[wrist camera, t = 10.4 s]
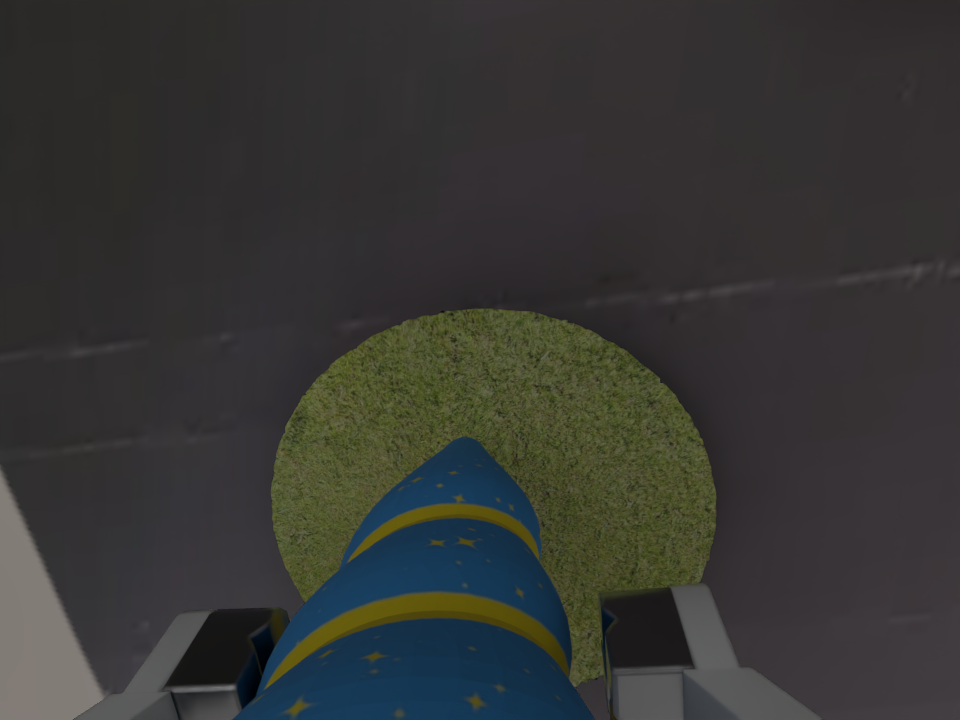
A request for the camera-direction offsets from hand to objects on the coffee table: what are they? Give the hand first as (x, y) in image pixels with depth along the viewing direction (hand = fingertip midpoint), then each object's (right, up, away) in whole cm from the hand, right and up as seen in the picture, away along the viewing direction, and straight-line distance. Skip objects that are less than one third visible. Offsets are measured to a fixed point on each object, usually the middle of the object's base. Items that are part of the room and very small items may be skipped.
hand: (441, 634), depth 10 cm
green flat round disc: (+1, +1, +9) cm, 9 cm away
